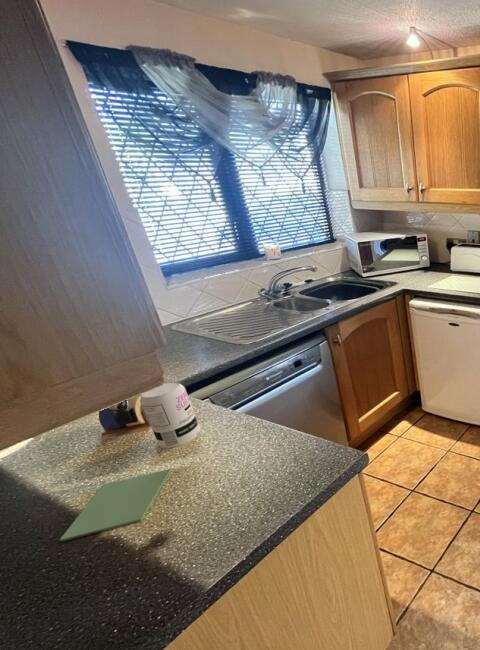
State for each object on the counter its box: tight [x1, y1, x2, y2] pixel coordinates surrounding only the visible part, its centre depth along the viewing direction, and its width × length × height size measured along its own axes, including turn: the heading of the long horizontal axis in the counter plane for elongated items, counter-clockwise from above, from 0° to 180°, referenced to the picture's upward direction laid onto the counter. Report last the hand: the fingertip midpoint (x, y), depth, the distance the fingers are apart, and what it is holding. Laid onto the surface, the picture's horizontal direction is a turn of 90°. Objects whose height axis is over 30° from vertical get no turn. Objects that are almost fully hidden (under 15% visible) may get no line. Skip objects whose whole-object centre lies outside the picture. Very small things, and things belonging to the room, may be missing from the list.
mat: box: [59, 468, 172, 543], centre depth 79 cm, size 12×14×1 cm
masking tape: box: [122, 395, 147, 426], centre depth 101 cm, size 3×8×8 cm, turn 21°
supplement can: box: [140, 380, 201, 449], centre depth 94 cm, size 8×8×15 cm
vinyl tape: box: [98, 402, 126, 430], centre depth 99 cm, size 3×8×8 cm, turn 21°
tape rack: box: [98, 411, 151, 441], centre depth 101 cm, size 10×9×5 cm
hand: (138, 413), depth 101 cm, fingers closed on masking tape, 7 cm apart
